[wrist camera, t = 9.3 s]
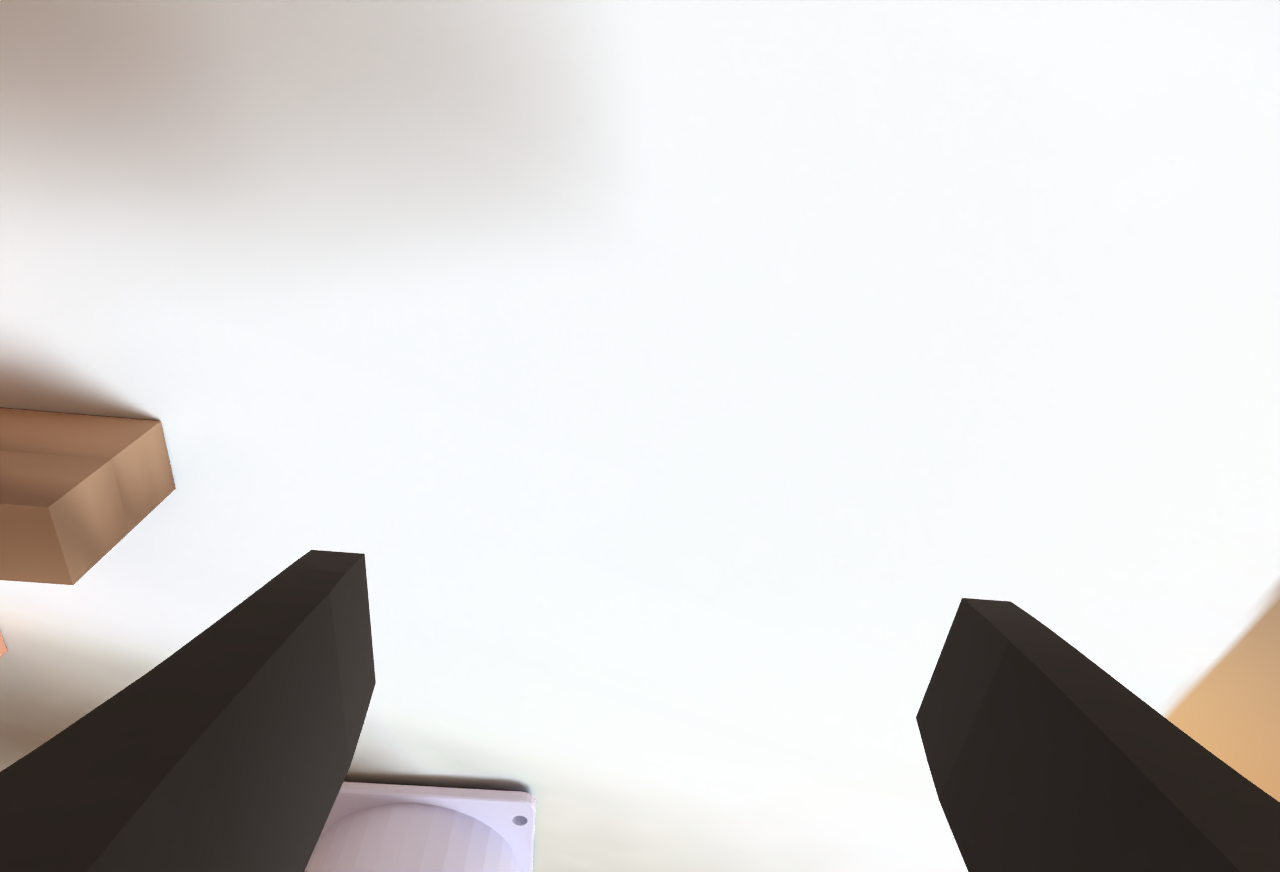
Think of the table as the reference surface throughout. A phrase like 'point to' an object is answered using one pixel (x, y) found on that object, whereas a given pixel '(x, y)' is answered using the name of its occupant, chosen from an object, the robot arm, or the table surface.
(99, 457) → the walnut notched bar
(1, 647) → the salmon stepped block
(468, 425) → the table surface
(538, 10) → the table surface
